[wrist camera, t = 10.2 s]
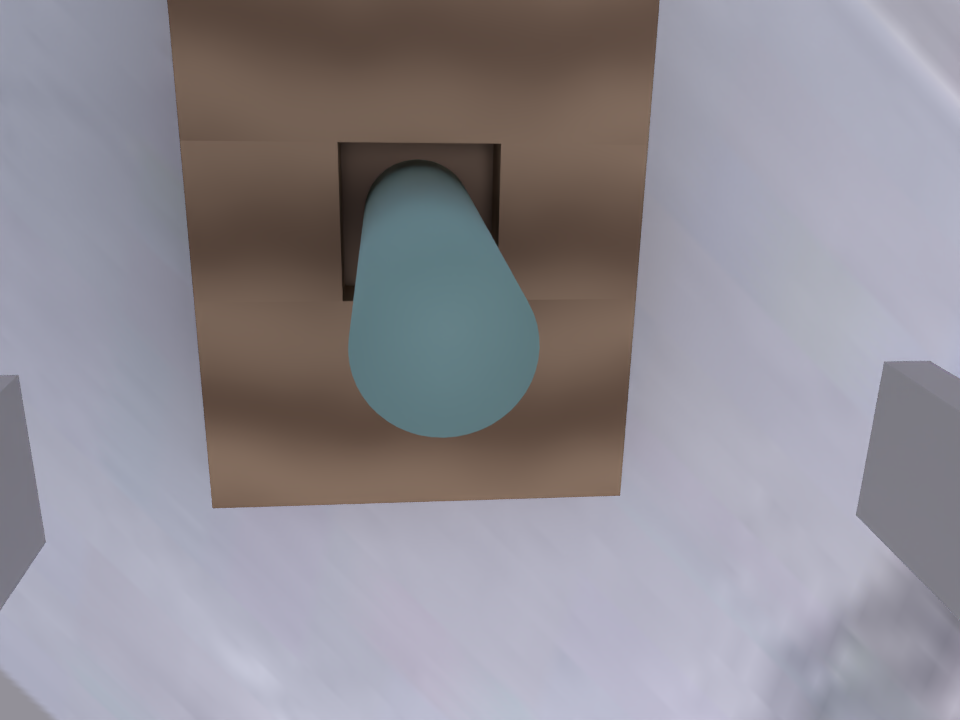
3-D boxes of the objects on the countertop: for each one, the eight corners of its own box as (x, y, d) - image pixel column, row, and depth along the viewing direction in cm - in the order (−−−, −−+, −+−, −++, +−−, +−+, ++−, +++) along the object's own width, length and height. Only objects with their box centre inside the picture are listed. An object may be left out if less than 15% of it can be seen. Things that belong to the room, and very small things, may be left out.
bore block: (176, -120, 30) (155, -137, 27) (643, -102, 32) (668, -117, 29) (225, 473, 37) (212, 508, 35) (602, 462, 39) (619, 495, 36)
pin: (363, 158, 33) (344, 256, 18) (472, 159, 33) (543, 255, 18) (365, 265, 34) (350, 439, 19) (470, 265, 35) (535, 435, 20)
